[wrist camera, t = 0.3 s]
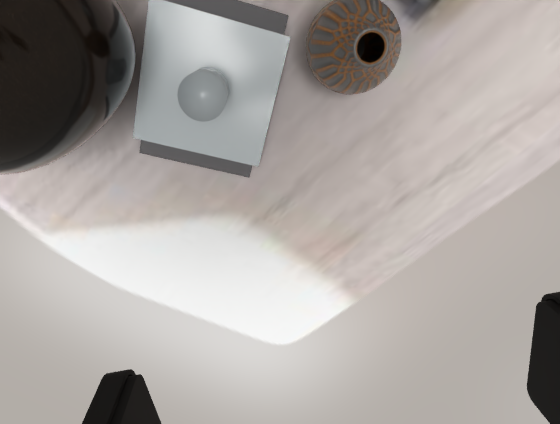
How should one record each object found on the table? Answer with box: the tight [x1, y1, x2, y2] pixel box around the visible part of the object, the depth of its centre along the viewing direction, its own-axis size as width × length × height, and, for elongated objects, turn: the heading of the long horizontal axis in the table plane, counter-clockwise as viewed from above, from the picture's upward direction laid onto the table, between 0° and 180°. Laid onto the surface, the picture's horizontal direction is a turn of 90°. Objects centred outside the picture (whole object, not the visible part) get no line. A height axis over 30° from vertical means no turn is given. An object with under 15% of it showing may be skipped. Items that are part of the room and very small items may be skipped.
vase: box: [306, 0, 401, 94], centre depth 29 cm, size 7×7×9 cm
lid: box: [133, 0, 291, 167], centre depth 30 cm, size 11×11×6 cm
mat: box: [140, 0, 288, 177], centre depth 33 cm, size 14×10×1 cm
